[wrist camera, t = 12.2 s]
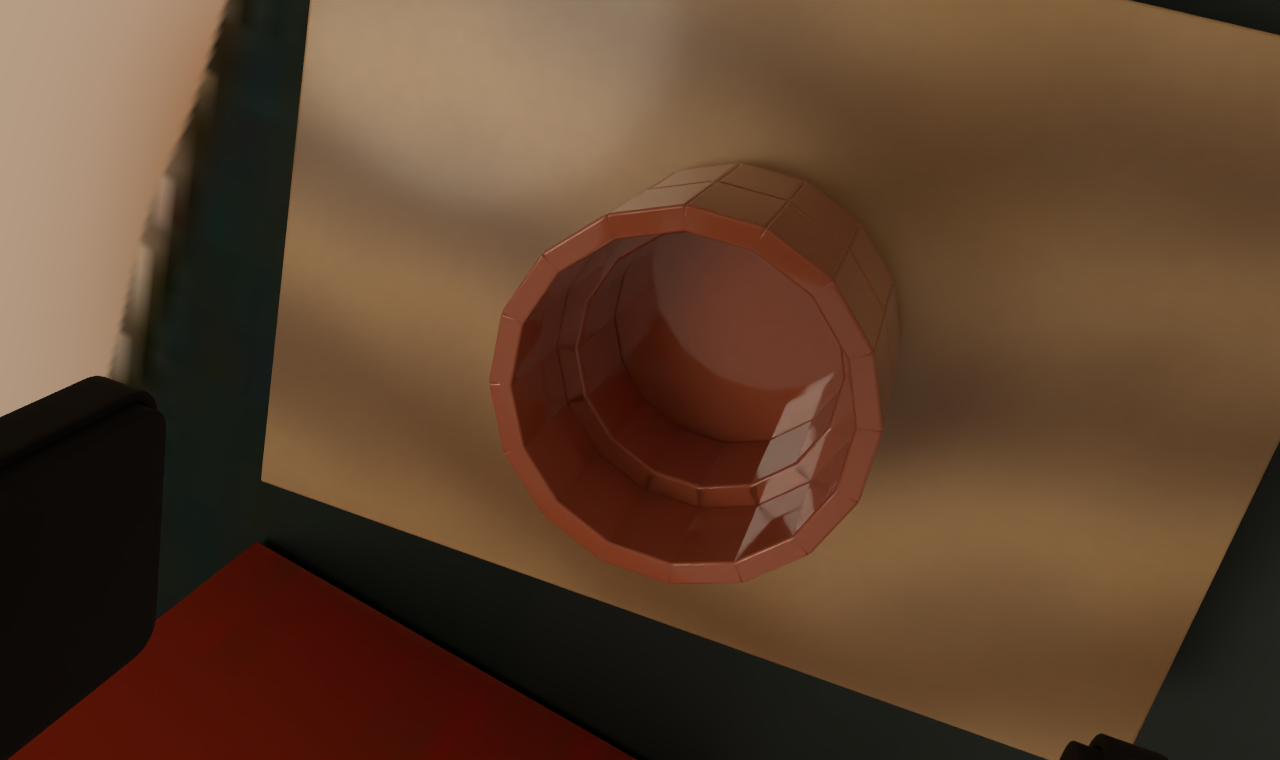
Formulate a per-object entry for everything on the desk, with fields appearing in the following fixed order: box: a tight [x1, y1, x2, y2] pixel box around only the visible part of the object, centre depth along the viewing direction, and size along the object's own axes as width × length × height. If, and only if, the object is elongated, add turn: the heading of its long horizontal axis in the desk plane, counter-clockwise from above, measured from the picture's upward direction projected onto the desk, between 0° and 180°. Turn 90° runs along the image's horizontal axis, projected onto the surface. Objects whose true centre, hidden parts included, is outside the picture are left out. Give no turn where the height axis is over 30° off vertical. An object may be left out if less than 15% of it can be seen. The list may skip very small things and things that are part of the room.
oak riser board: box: [261, 0, 1280, 760], centre depth 27 cm, size 16×22×5 cm
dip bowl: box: [489, 163, 900, 584], centre depth 22 cm, size 7×7×6 cm
